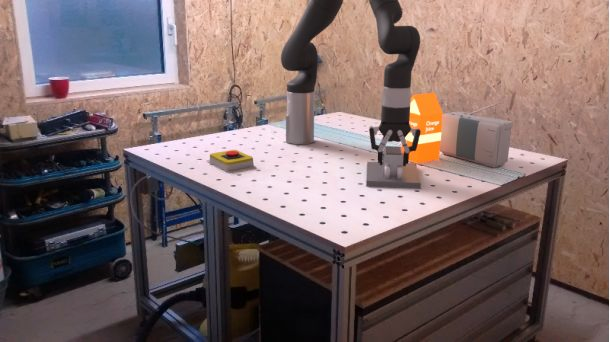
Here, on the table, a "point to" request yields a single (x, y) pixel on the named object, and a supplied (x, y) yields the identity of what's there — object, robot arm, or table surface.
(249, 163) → the emergency button
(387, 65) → the robot arm
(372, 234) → the table surface
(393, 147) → the grey boxy piece
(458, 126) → the stereo radio cassette player
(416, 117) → the orange juice
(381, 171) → the pin tray
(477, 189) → the table surface
